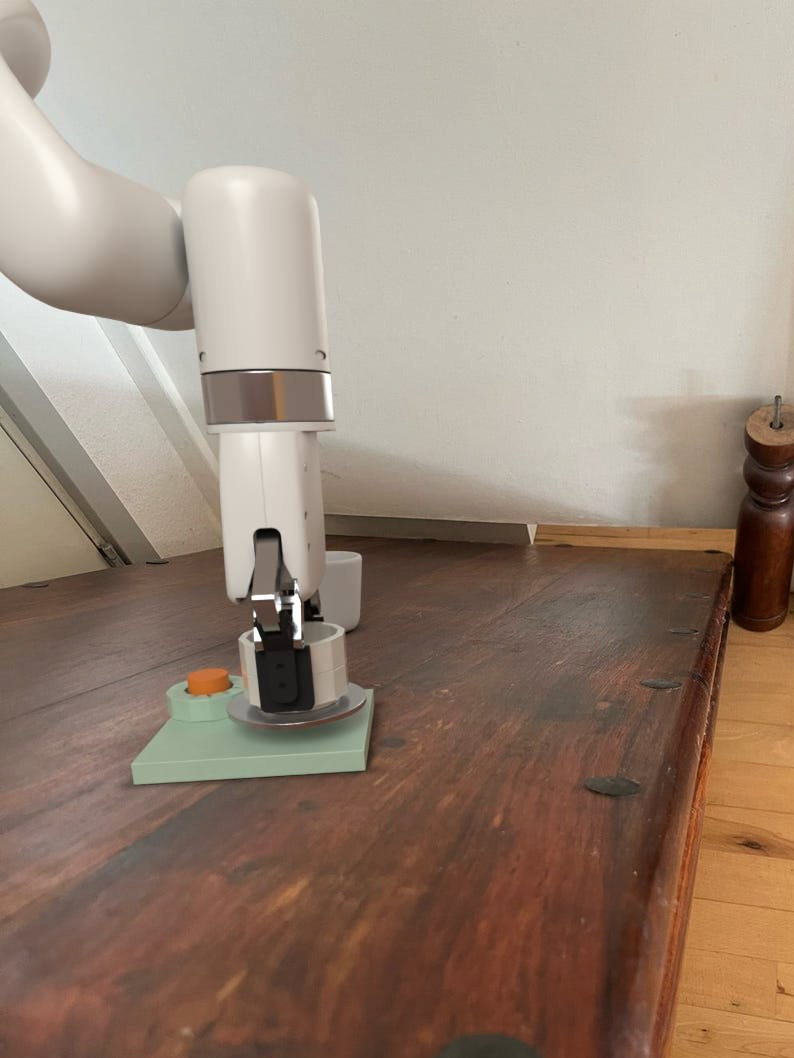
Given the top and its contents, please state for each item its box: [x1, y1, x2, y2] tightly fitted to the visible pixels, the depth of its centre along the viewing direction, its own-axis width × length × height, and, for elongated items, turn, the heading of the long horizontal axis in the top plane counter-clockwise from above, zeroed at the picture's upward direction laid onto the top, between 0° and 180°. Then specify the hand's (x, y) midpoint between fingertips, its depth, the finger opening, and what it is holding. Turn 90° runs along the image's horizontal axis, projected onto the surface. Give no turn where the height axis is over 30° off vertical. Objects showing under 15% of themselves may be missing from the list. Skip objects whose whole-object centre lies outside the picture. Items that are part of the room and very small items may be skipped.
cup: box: [313, 550, 363, 633], centre depth 81 cm, size 11×8×8 cm
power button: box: [186, 668, 230, 695], centre depth 55 cm, size 3×3×1 cm
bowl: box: [237, 622, 350, 713], centre depth 50 cm, size 7×7×4 cm
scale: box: [130, 674, 375, 786], centre depth 53 cm, size 14×12×3 cm
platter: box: [227, 681, 366, 730], centre depth 51 cm, size 9×9×1 cm
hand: (297, 688), depth 51 cm, fingers closed on bowl, 6 cm apart
